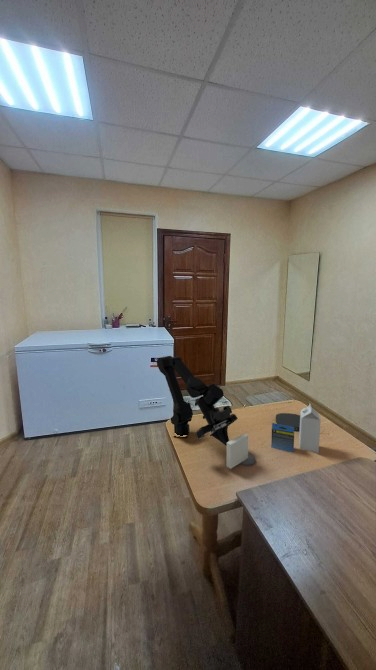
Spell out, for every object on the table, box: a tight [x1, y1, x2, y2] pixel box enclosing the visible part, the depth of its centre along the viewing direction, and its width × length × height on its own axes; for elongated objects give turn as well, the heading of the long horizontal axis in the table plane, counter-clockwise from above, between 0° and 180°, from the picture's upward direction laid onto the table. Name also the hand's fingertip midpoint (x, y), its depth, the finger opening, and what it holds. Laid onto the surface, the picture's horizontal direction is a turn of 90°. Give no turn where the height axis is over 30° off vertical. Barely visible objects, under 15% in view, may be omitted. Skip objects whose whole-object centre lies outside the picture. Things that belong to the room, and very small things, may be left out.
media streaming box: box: [275, 412, 300, 432], centre depth 136 cm, size 15×15×3 cm
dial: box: [225, 432, 256, 470], centre depth 102 cm, size 14×7×11 cm, turn 129°
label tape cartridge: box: [270, 422, 295, 453], centre depth 112 cm, size 9×4×12 cm, turn 65°
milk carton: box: [298, 403, 321, 455], centre depth 112 cm, size 7×7×19 cm
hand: (228, 446), depth 103 cm, fingers closed
